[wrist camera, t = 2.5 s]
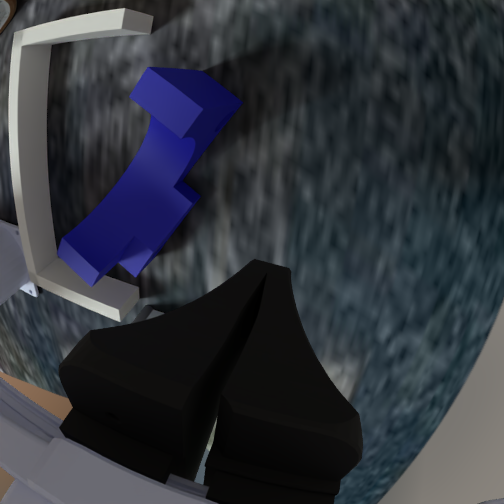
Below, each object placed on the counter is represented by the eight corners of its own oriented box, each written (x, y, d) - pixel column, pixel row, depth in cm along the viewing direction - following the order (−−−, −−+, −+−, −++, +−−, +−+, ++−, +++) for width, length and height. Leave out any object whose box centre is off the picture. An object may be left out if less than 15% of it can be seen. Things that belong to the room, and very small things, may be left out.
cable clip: (156, 255, 22) (110, 304, 17) (111, 214, 22) (56, 254, 17) (265, 119, 16) (233, 133, 11) (203, 71, 16) (147, 67, 11)
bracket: (51, 265, 26) (30, 282, 23) (43, 32, 16) (14, 32, 13) (139, 299, 25) (120, 322, 22) (153, 16, 14) (125, 8, 12)
